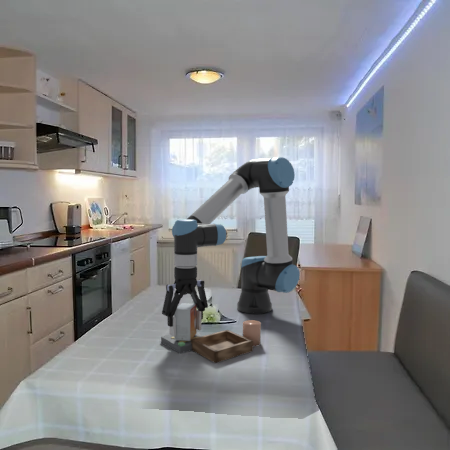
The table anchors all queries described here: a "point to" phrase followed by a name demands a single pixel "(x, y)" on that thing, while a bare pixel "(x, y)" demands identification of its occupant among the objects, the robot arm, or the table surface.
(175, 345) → the grey square slab
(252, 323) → the peach rounded capsule
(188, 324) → the small box
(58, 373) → the table surface
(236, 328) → the table surface
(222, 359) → the wooden tray
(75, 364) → the table surface
